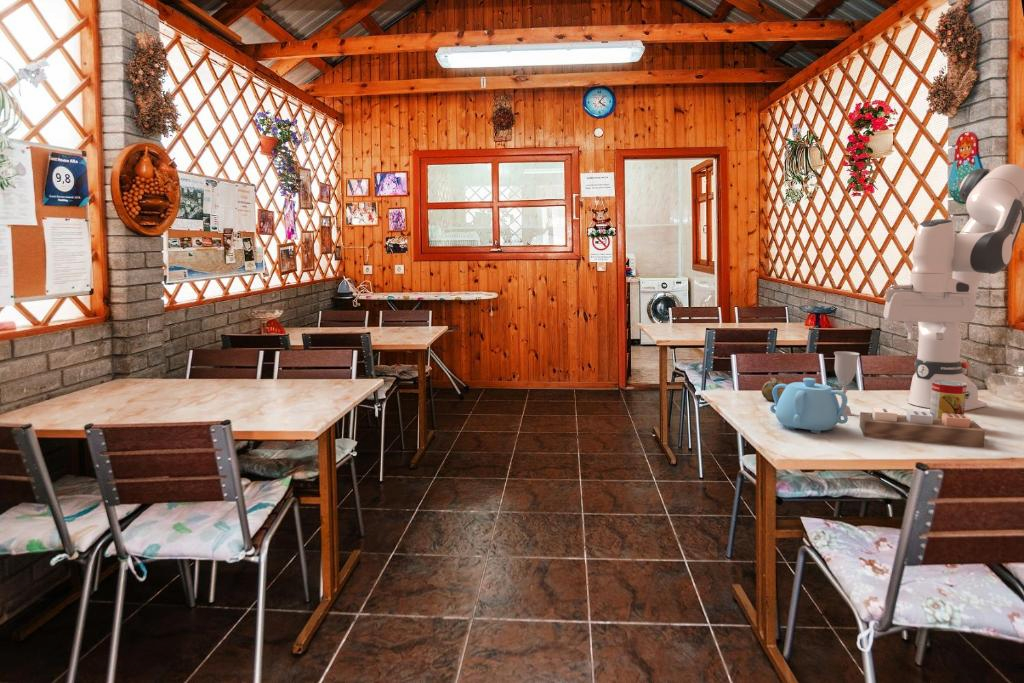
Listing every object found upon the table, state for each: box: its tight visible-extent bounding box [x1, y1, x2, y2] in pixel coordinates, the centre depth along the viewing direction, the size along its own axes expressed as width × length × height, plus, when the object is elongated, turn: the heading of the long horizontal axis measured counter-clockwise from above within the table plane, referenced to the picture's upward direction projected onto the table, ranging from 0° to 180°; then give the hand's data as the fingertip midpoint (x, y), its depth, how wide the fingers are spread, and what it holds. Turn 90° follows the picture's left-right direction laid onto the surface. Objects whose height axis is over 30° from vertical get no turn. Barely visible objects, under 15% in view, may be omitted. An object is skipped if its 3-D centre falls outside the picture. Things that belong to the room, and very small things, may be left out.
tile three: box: [942, 413, 971, 427], centre depth 169 cm, size 5×5×3 cm
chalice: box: [833, 350, 860, 416], centre depth 196 cm, size 7×7×18 cm
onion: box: [761, 376, 785, 402], centre depth 214 cm, size 8×8×8 cm
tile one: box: [871, 407, 898, 422], centre depth 175 cm, size 5×5×3 cm
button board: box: [858, 411, 986, 448], centre depth 172 cm, size 26×11×4 cm, turn 68°
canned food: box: [929, 380, 967, 418], centre depth 183 cm, size 8×8×12 cm
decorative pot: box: [769, 377, 849, 434], centre depth 180 cm, size 16×16×14 cm
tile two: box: [906, 410, 933, 424], centre depth 172 cm, size 5×5×3 cm
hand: (926, 339), depth 169 cm, fingers open, 5 cm apart
